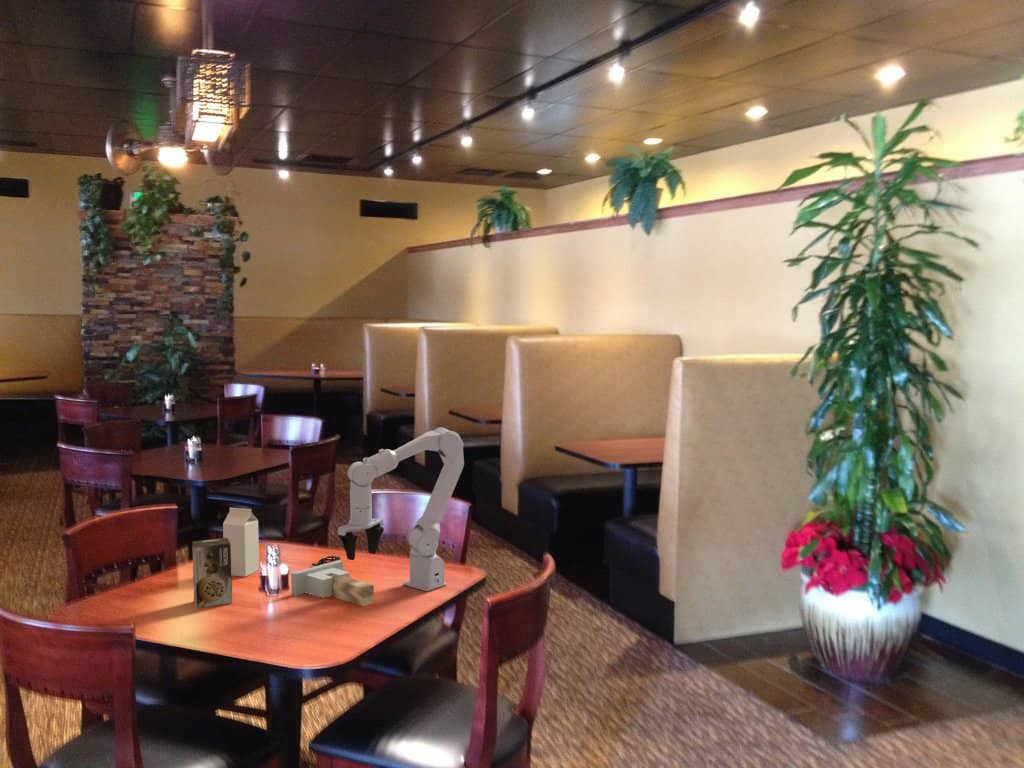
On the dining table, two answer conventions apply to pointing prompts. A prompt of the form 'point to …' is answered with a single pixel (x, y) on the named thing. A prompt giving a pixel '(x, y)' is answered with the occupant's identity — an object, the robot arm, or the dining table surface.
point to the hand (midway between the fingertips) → (361, 556)
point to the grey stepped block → (317, 579)
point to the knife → (326, 559)
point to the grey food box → (212, 572)
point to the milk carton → (242, 541)
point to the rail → (353, 590)
